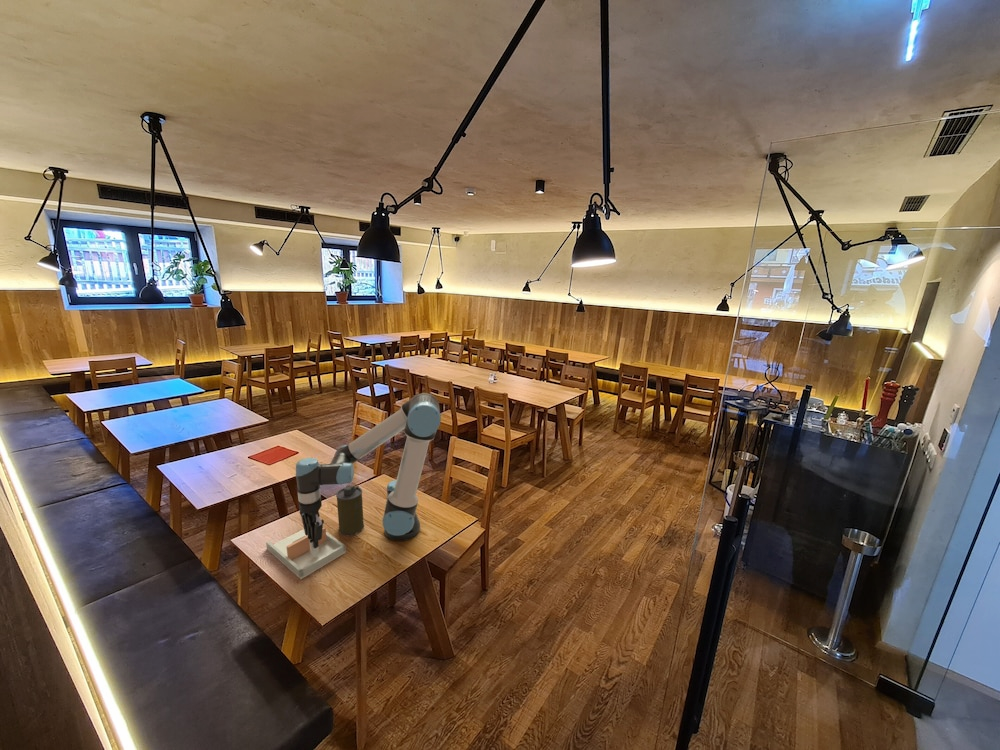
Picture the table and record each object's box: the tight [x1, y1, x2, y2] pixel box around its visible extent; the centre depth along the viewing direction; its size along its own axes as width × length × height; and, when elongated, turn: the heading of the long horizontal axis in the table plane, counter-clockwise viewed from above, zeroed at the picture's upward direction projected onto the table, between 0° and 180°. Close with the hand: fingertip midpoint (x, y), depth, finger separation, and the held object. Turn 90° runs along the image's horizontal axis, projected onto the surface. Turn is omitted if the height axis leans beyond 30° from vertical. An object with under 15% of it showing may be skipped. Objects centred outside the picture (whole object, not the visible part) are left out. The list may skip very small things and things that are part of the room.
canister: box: [335, 484, 365, 537], centre depth 166 cm, size 11×10×20 cm
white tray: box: [265, 528, 347, 580], centre depth 153 cm, size 26×18×3 cm
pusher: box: [286, 526, 327, 560], centre depth 153 cm, size 7×15×6 cm, turn 145°
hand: (314, 553), depth 149 cm, fingers closed
